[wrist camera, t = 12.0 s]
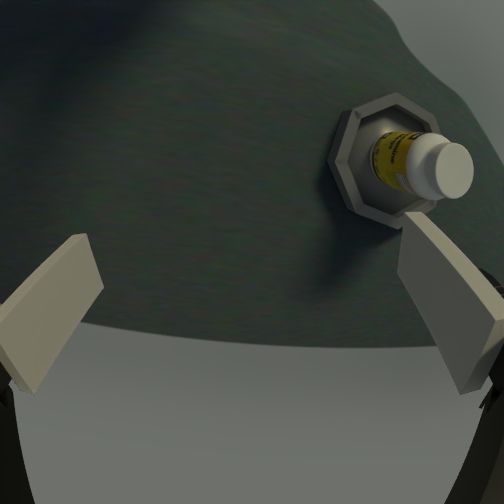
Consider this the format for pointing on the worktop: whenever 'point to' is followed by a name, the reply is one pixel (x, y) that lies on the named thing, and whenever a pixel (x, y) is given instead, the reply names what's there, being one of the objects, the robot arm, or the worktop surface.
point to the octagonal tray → (358, 157)
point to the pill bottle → (422, 164)
